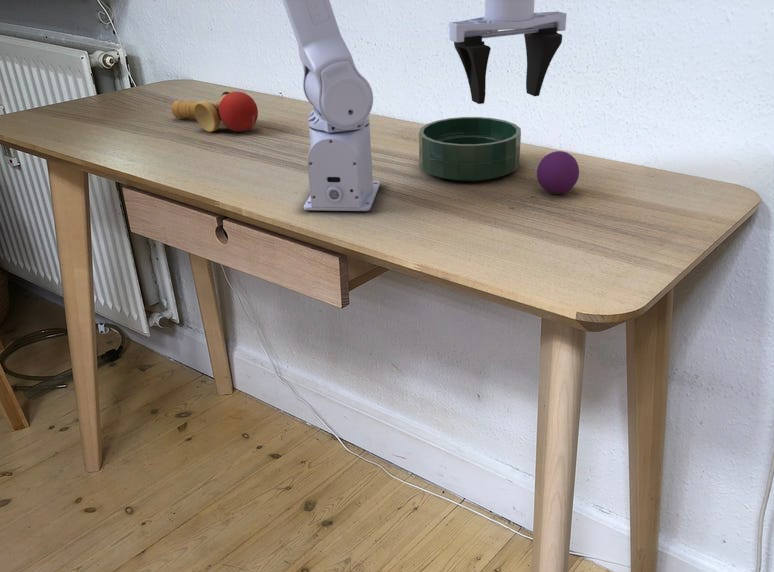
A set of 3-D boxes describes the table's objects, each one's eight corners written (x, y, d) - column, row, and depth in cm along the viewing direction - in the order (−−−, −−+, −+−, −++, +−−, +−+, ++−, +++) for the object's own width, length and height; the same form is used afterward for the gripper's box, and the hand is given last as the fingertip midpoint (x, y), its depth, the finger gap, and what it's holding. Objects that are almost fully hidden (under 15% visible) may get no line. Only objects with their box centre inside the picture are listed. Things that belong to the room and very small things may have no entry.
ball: (578, 200, 90) (582, 158, 88) (536, 199, 91) (539, 158, 88) (575, 185, 95) (579, 145, 92) (534, 185, 95) (537, 145, 92)
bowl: (519, 185, 95) (521, 145, 93) (415, 184, 97) (414, 145, 94) (518, 152, 106) (520, 116, 104) (424, 152, 108) (423, 116, 105)
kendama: (160, 132, 125) (233, 133, 115) (155, 92, 123) (228, 88, 113) (198, 130, 131) (270, 130, 120) (194, 91, 129) (267, 88, 118)
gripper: (547, -32, 92) (540, 84, 99) (438, -23, 88) (439, 98, 95) (580, -27, 86) (569, 96, 94) (464, -17, 82) (463, 111, 89)
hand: (505, 98), depth 94 cm, fingers open, 7 cm apart
